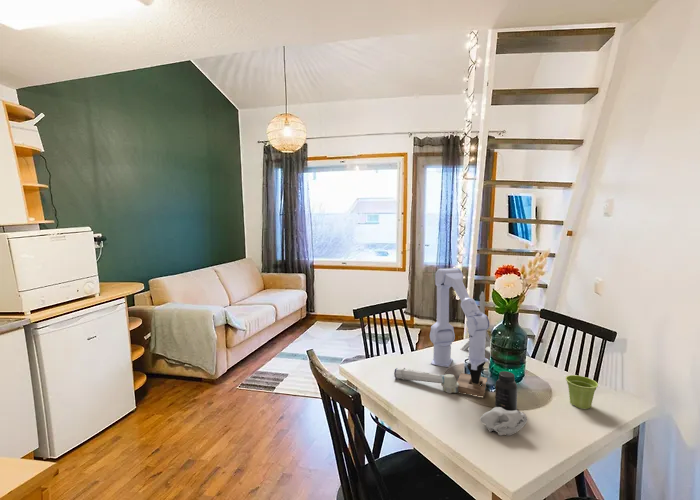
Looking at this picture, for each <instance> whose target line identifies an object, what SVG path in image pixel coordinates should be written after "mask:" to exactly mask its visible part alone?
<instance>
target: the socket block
mask: <svg viewBox="0 0 700 500" xmlns="http://www.w3.org/2000/svg"><path fill="white" fill-rule="evenodd" d="M456 382H458V383H459V386H458V392H460V393H459V394H463V393H466V394H465V395H467V394H472V395H477V396H483V397H484V398H485V394H486V391H485V388H486V389H487V387H486V382H487V383H488V377H483V376H481V381H480V385H481V384H482V386H477V385H472V381H471V374H470V373H463V372H460V374H459V377H458V379H457V380H456ZM458 392H457V393H458ZM484 393H485V394H484Z"/></svg>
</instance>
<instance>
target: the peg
mask: <svg viewBox="0 0 700 500" xmlns="http://www.w3.org/2000/svg"><path fill="white" fill-rule="evenodd" d="M481 375H482V373H481V374H480V379H479V383H478V384H475V383H472V385H477V386H480V381H481V377H482V376H481ZM471 381H472V379H471Z"/></svg>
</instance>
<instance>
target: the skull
mask: <svg viewBox="0 0 700 500" xmlns="http://www.w3.org/2000/svg"><path fill="white" fill-rule="evenodd" d="M479 421H480V423H481V424H483V425H485V427H486V429H487V430H489V432H490V433H492V431H493V432H494V431H495V432H496V433H497V435H498V436H503V435H505V436H507V437H509V436H512V435H514V434H515V433H517V432H519V431H520V430H521V429H523V428H524V427H525V425H526V424H527V422H528V418H527V415H526V413H524V412H522V411H520V410H518V409H516V410H514V411H507V410H505V409H503V408H501V407H496V406H494V407H493V408H492V409H491V410H488V411H485V412H484V413H483V414H482V415H480V418H479Z"/></svg>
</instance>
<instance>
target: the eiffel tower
mask: <svg viewBox="0 0 700 500" xmlns="http://www.w3.org/2000/svg"><path fill="white" fill-rule="evenodd" d="M485 300H486V295H485V293H484V291H481V293H480V294H479V310H480V312H482V313H483V314H485V313H486V312H485V311H486V310H485ZM485 315H486V314H485ZM490 339H491V337H490V335H489V332H488V329H487V330H486V338H485V349H486V348H488V347H489V348H490ZM460 350H461V351H462V352H469V340H468V341H467V342H466V343H465V344H464V345H463V346H462V347H461V348H460Z"/></svg>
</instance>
